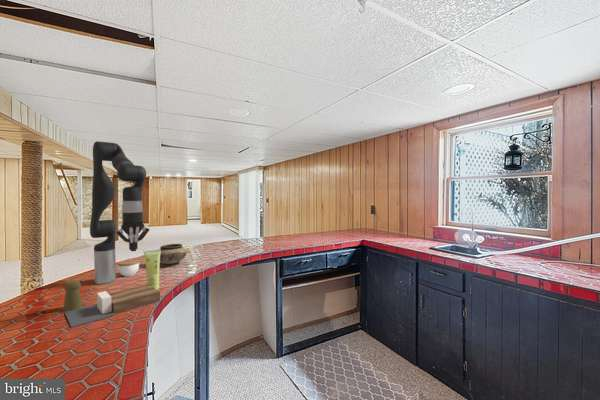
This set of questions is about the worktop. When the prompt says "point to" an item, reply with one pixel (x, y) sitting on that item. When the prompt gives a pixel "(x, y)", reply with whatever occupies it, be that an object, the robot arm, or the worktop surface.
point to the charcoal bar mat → (86, 315)
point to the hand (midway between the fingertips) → (133, 250)
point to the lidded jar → (128, 267)
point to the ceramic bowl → (172, 254)
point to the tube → (152, 267)
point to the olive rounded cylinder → (72, 296)
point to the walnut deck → (134, 298)
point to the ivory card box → (104, 302)
